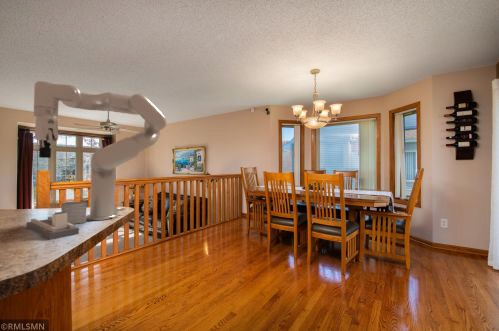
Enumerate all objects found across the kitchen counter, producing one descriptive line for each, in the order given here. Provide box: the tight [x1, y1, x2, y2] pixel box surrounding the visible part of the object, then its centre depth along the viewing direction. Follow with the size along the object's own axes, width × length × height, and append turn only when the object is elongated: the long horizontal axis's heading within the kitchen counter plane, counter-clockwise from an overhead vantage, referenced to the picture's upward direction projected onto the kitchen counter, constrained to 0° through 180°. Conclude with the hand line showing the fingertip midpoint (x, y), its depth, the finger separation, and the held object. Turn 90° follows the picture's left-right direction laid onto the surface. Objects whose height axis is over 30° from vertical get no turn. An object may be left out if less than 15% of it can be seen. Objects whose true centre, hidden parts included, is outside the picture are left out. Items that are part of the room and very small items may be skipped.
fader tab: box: [51, 211, 67, 230], centre depth 80 cm, size 3×3×6 cm
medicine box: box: [60, 201, 87, 225], centre depth 94 cm, size 8×4×9 cm, turn 135°
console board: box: [25, 216, 80, 240], centre depth 84 cm, size 8×24×3 cm, turn 58°
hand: (44, 157), depth 94 cm, fingers closed
